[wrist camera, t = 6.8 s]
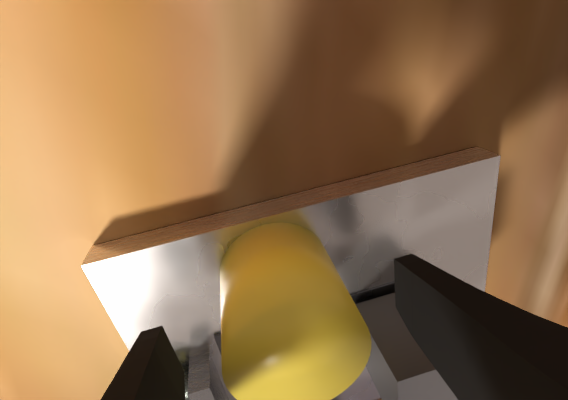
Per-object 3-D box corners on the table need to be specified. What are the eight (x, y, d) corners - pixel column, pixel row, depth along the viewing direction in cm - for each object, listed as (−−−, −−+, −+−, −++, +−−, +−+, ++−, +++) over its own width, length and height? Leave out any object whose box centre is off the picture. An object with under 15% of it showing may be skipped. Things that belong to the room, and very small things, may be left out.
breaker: (432, 331, 15) (489, 405, 12) (359, 354, 15) (399, 436, 12) (433, 280, 14) (498, 348, 11) (354, 304, 14) (397, 382, 11)
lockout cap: (337, 292, 13) (382, 381, 10) (241, 327, 13) (251, 430, 10) (313, 206, 12) (356, 277, 8) (202, 245, 12) (196, 335, 8)
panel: (455, 409, 21) (488, 457, 19) (221, 489, 20) (223, 553, 17) (477, 146, 14) (538, 170, 11) (91, 246, 12) (62, 299, 9)
